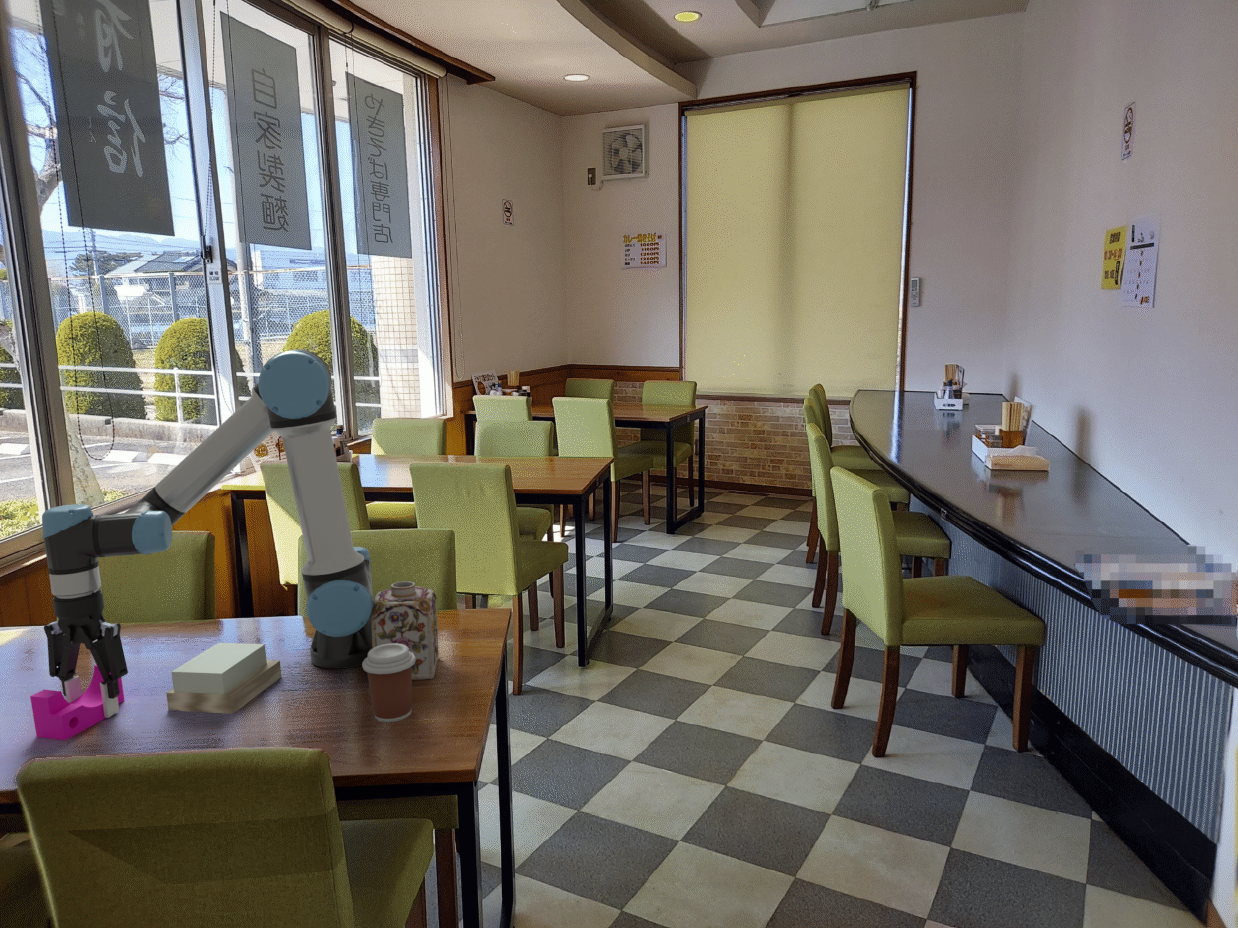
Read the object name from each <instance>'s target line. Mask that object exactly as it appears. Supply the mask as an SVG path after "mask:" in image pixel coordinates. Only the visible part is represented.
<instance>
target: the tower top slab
mask: <svg viewBox="0 0 1238 928" xmlns="http://www.w3.org/2000/svg"><path fill="white" fill-rule="evenodd" d="M267 660H268V659H267V653H266V645H265V643H236V642H235V643H234V642H233V643H230V642H217V643H216V644H214V645H213V646H211V647H209V648H208V649H206V650H204V651H203V652H201V653H200V654H198V655H196V656H194V657H193V658H192V659H189V660H188V661H186V662H185V663H184V664H182V665H180V666H178V667H176V668H175V669H173V670H172V671H171V679H172V689H173V688H174V692H177V693H203V694H225V693H227V692H228V691H229V690H231V689H232V688H234V687H235V686H236V685H238V684H239V683H241V682H242V681H243V680H245V679H246V678H247V677H249V676H250V675H252V674H253V673H254V672H256V671H257V670H259V669H260V668H261V667H263V666H264V665H265V664H267Z"/></svg>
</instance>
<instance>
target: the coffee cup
mask: <svg viewBox="0 0 1238 928" xmlns="http://www.w3.org/2000/svg"><path fill="white" fill-rule="evenodd" d="M415 661H416V657H415V656H414V654H413V653H412V652H410V651H409V648H408V647H407V646H406V645H403V644H398V643H391V644H384V645H380V646H377V647H374V648H373V649H371V650H370V651H369V652H368V657H367V658H365V660H364V661H363V663H362V665H361V666H362V669H363V671H364V672H366V673H367V679H368V685H369V690H370V696H371V702H372V703H371V704H372V707H373V713H374V718H375V721H378V722H381V723H395V722H399V721H403V720H405V719H407V718H408V717H409V716H411V715H412V712H413V710H412V708H413V707H412V703H413V702H412V701H413V698H412V697H413V696H412V695H413V693H412V692H413V688H412V687H413V680H412V665H414V663H415Z"/></svg>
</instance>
